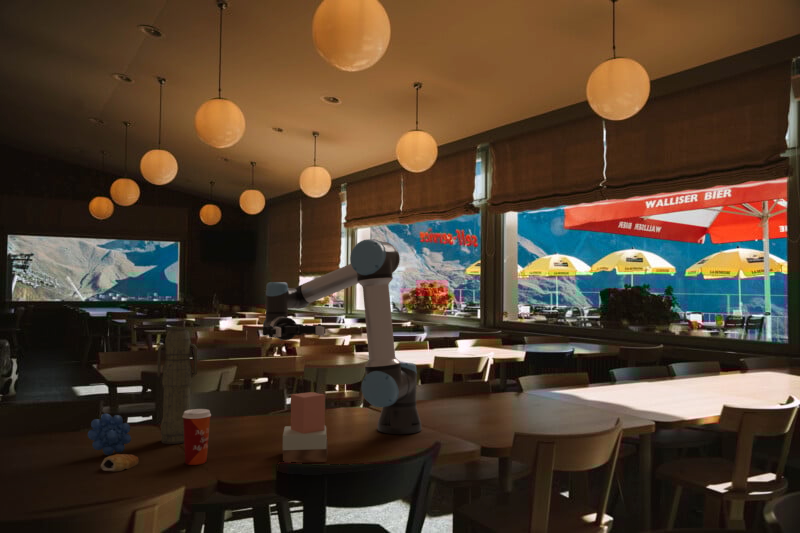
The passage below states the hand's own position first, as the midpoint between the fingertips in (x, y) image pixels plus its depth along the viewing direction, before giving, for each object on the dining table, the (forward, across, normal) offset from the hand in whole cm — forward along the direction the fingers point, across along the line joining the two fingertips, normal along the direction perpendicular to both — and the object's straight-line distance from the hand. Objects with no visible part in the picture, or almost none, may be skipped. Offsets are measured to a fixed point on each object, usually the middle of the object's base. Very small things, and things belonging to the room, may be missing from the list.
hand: (301, 331), depth 186 cm
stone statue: (-26, +33, -35) cm, 55 cm away
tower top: (+10, +2, -32) cm, 33 cm away
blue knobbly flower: (-14, +52, -35) cm, 64 cm away
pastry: (0, +50, -36) cm, 61 cm away
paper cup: (+3, +30, -35) cm, 47 cm away
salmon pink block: (+9, +1, -28) cm, 29 cm away
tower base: (+10, +1, -36) cm, 37 cm away
